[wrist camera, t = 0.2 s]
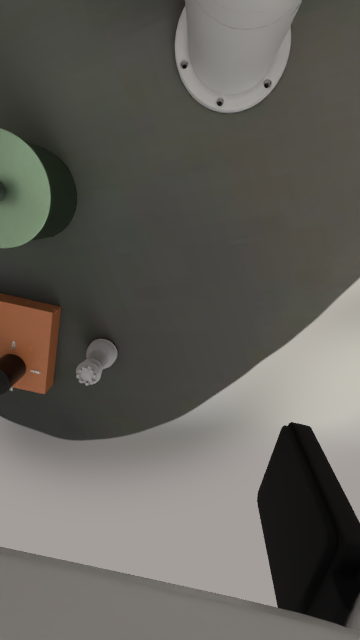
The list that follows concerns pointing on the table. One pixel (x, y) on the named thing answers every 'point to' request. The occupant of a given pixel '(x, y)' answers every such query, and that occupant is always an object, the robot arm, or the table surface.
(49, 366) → the knob base block
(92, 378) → the rook chess piece
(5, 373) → the stove knob
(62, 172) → the pot
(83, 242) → the table surface
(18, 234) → the pot lid
